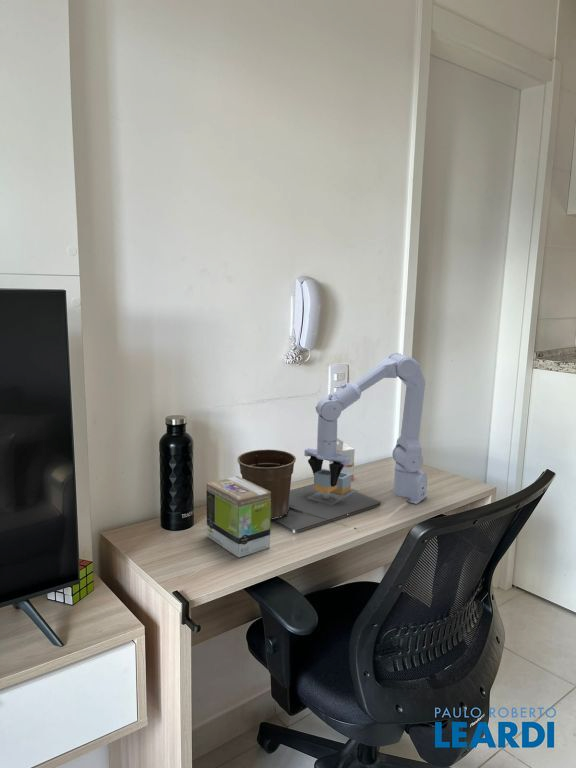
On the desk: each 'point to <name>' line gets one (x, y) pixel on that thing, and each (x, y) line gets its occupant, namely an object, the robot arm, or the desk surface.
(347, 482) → the seated sleeve
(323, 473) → the loose sleeve
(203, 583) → the desk surface
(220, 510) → the tea box
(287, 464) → the plant pot
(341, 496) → the peg board
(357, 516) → the desk surface
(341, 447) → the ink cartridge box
